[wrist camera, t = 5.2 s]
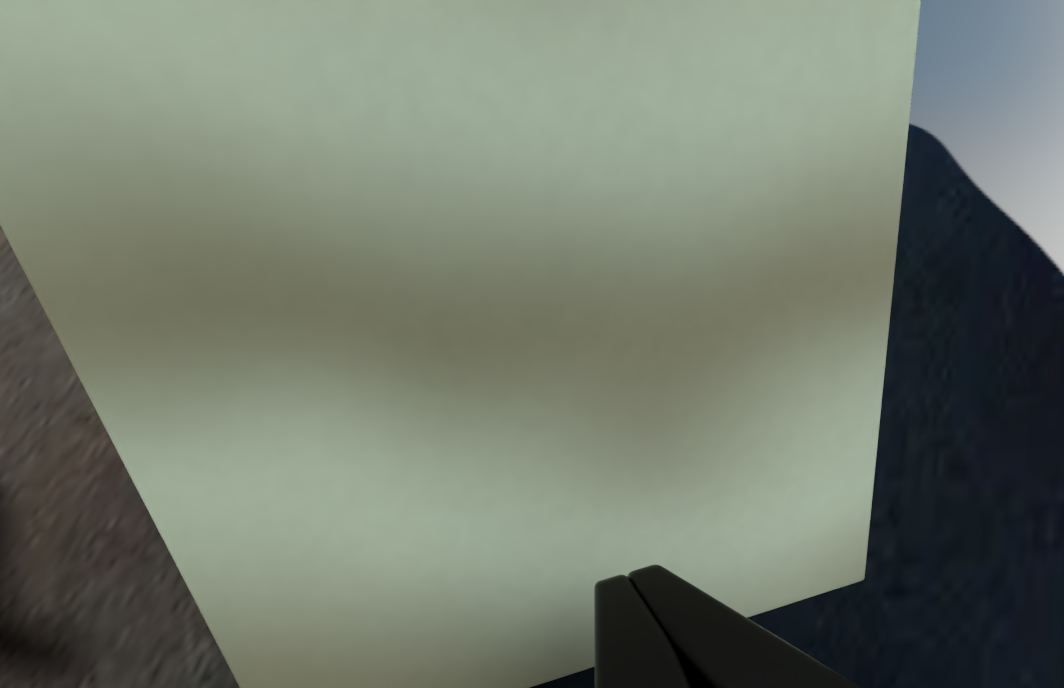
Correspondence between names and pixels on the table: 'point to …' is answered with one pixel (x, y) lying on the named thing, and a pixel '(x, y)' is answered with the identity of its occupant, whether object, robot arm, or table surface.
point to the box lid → (468, 304)
